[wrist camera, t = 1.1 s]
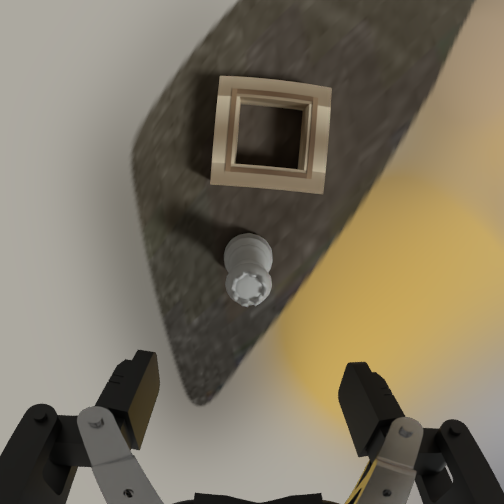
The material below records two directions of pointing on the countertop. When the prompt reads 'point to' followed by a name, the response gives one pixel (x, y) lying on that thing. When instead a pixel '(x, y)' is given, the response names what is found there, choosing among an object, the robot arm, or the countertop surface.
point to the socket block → (282, 96)
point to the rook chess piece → (248, 269)
